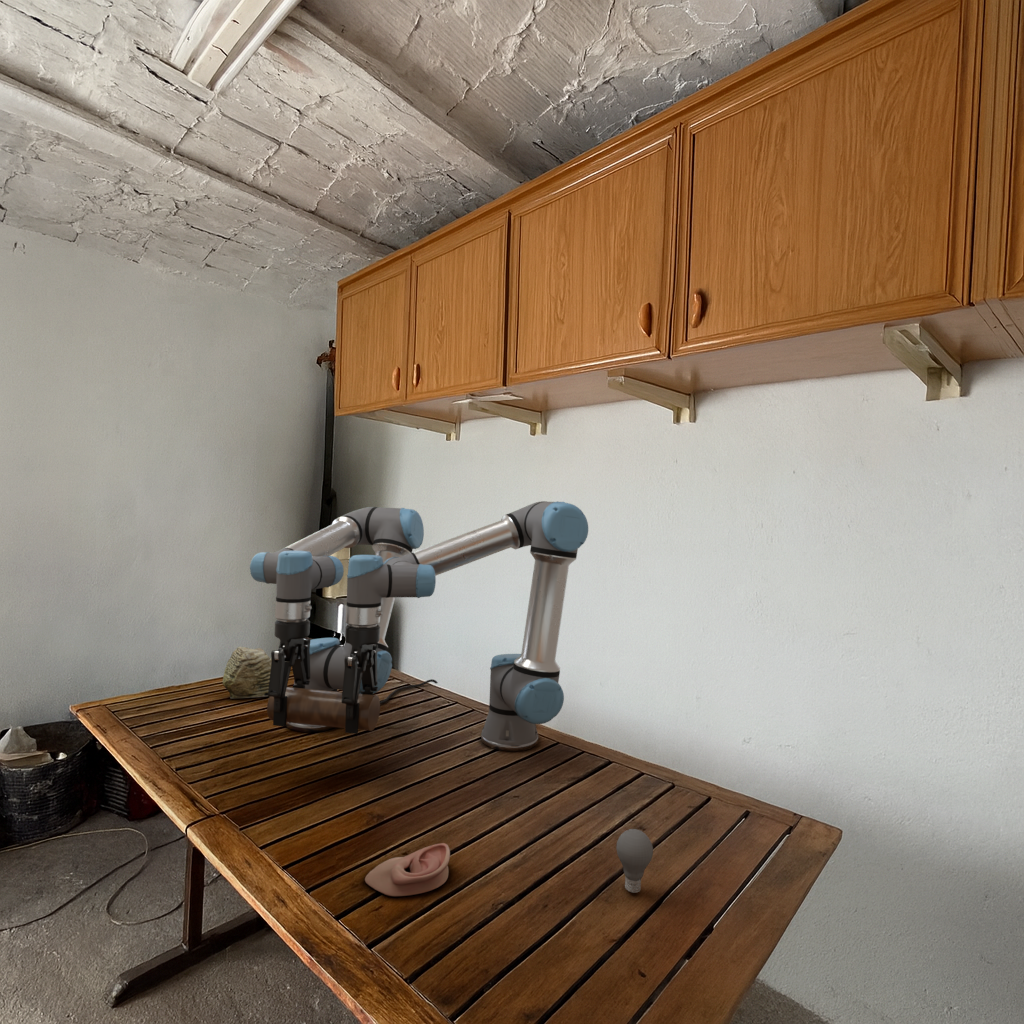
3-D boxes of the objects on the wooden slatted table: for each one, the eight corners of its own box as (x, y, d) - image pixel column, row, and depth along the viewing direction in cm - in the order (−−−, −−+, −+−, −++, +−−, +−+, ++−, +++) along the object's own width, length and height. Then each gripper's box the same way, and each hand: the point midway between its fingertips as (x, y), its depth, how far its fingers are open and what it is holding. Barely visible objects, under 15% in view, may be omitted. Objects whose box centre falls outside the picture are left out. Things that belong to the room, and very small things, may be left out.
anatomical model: (357, 866, 102) (385, 830, 114) (356, 890, 102) (384, 852, 114) (435, 879, 100) (456, 841, 111) (434, 904, 100) (455, 864, 111)
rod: (266, 725, 141) (267, 691, 141) (283, 714, 148) (284, 682, 148) (367, 735, 137) (368, 701, 137) (379, 723, 145) (380, 691, 145)
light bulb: (610, 879, 108) (613, 822, 108) (644, 879, 109) (647, 822, 109) (619, 902, 102) (622, 840, 102) (655, 901, 103) (658, 840, 103)
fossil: (218, 695, 195) (220, 647, 195) (278, 685, 208) (279, 640, 207) (228, 703, 189) (230, 653, 188) (289, 692, 201) (290, 645, 201)
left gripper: (285, 629, 133) (281, 737, 133) (328, 612, 153) (324, 706, 154) (252, 626, 134) (248, 733, 135) (299, 610, 154) (295, 703, 155)
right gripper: (361, 635, 130) (357, 745, 131) (394, 617, 151) (390, 712, 151) (326, 632, 132) (322, 741, 132) (364, 615, 152) (360, 709, 152)
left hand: (289, 718), depth 144 cm, fingers closed on rod, 8 cm apart
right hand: (359, 726), depth 142 cm, fingers closed on rod, 8 cm apart
